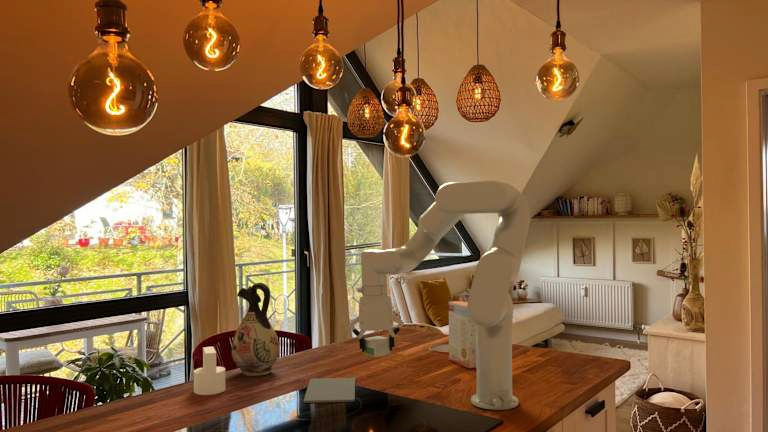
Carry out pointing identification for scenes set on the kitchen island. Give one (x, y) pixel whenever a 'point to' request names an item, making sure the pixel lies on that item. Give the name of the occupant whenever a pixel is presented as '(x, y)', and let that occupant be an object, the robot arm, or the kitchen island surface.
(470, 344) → the cracker box
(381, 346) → the small box
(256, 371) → the ceramic jug
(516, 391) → the kitchen island surface
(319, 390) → the mat
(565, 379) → the kitchen island surface
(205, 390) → the cylinder with rectangular tab
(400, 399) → the kitchen island surface
